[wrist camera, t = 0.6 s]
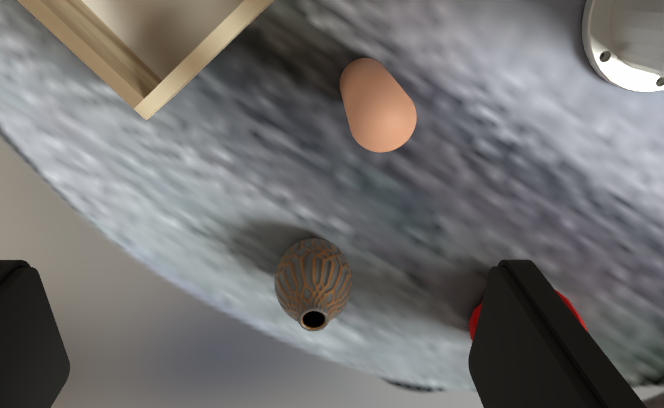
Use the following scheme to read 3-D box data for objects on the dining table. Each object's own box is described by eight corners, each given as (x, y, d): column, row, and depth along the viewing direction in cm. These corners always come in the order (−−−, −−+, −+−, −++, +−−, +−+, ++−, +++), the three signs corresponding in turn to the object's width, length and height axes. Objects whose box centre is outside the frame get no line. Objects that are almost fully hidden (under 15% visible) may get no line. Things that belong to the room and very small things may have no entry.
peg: (369, 46, 33) (390, 72, 25) (399, 86, 35) (429, 124, 26) (329, 80, 34) (335, 116, 26) (359, 118, 36) (376, 164, 27)
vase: (335, 292, 44) (341, 358, 37) (269, 277, 43) (260, 343, 35) (358, 236, 41) (369, 296, 34) (287, 219, 40) (282, 277, 32)
